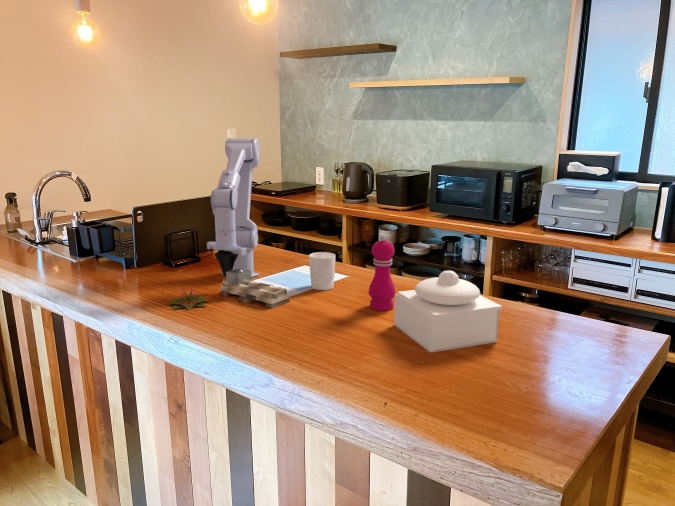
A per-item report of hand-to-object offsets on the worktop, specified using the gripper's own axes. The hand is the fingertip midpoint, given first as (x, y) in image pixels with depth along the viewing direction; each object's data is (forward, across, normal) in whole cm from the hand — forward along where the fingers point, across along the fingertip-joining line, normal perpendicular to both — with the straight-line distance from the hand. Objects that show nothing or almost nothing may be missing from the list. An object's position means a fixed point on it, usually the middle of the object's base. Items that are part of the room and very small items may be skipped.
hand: (227, 275), depth 157 cm
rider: (+2, +5, 0) cm, 5 cm away
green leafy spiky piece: (+5, 0, -14) cm, 15 cm away
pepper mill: (+5, +44, +15) cm, 46 cm away
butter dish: (+5, +65, +8) cm, 66 cm away
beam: (+5, +11, 0) cm, 12 cm away
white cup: (+5, +20, +20) cm, 29 cm away
